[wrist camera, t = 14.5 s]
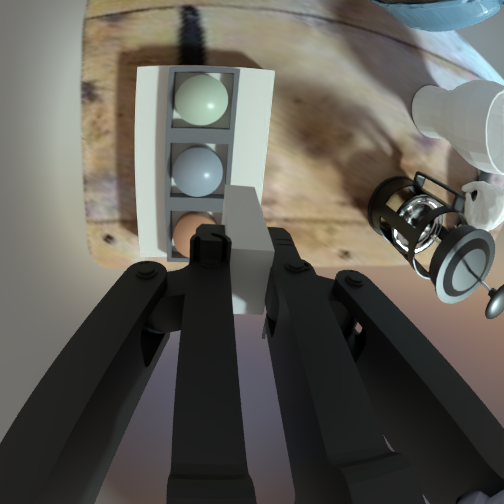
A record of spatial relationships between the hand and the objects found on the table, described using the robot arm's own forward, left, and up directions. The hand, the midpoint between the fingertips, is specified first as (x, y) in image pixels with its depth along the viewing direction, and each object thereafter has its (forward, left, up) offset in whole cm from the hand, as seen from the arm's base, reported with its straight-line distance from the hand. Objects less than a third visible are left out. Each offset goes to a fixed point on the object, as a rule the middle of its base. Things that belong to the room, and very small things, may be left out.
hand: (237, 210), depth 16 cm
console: (0, -4, -21) cm, 21 cm away
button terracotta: (+6, -8, -17) cm, 19 cm away
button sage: (-6, +1, -17) cm, 18 cm away
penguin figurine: (+27, +29, -21) cm, 45 cm away
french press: (+19, +16, -21) cm, 33 cm away
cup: (+9, +27, -21) cm, 36 cm away
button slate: (0, -3, -17) cm, 17 cm away
